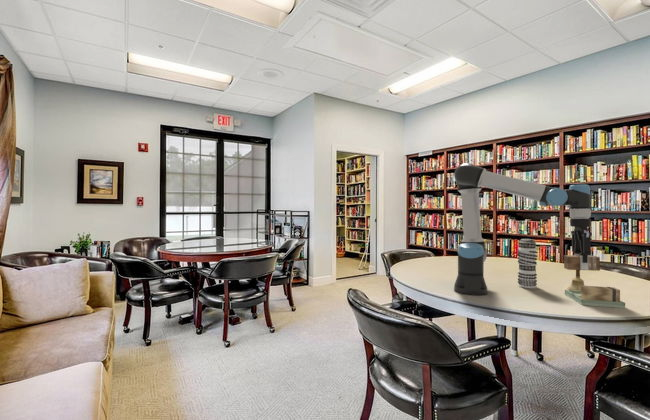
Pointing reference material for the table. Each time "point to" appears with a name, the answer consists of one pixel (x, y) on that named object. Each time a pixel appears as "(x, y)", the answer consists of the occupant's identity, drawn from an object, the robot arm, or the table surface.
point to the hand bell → (576, 282)
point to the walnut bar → (574, 262)
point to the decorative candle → (527, 263)
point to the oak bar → (600, 293)
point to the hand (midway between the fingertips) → (581, 268)
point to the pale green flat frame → (577, 297)
